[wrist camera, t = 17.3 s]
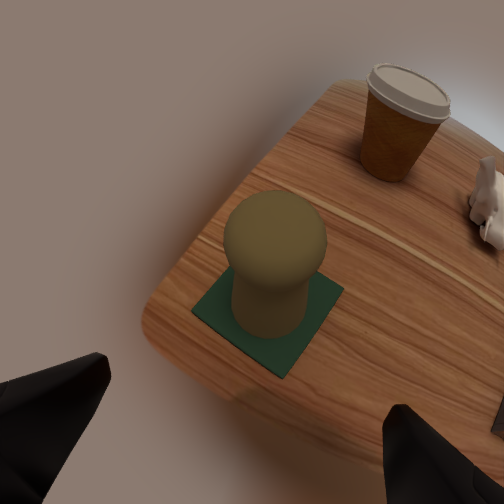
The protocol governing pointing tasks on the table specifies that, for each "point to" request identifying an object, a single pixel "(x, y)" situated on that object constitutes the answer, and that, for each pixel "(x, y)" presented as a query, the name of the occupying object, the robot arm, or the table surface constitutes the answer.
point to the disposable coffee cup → (399, 119)
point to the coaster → (277, 349)
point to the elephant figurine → (489, 203)
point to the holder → (499, 422)
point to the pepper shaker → (273, 260)
